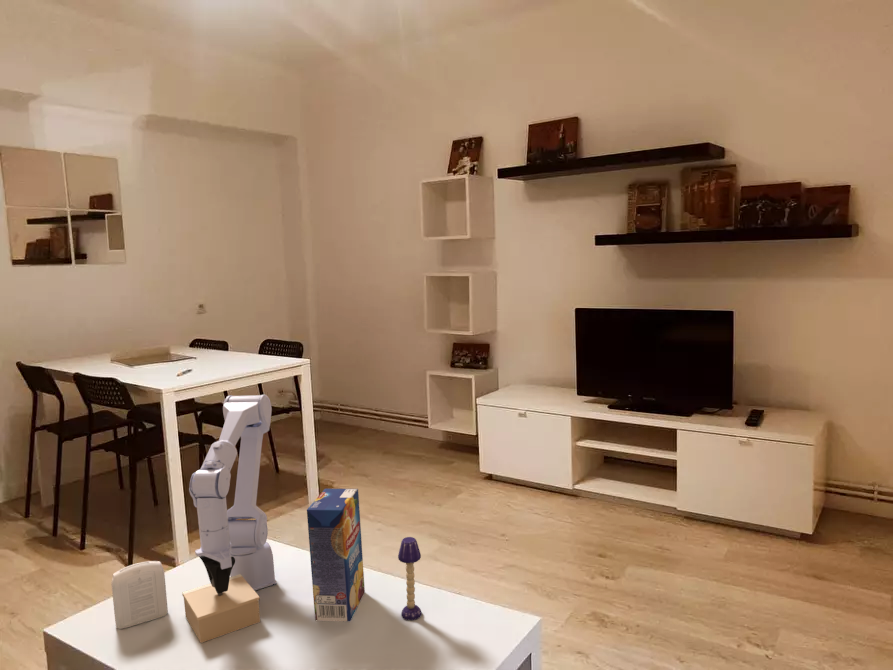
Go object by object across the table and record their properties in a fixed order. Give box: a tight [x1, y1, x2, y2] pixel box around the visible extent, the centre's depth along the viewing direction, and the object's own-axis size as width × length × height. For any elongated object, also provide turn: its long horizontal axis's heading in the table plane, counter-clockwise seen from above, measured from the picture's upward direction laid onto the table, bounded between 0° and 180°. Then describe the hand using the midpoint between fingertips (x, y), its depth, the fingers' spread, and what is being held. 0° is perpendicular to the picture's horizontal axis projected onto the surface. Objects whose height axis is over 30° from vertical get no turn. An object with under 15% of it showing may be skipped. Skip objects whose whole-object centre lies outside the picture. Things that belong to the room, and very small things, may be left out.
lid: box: [181, 574, 260, 620], centre depth 140 cm, size 12×12×5 cm
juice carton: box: [306, 488, 366, 623], centre depth 143 cm, size 12×8×24 cm, turn 172°
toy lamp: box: [397, 536, 422, 621], centre depth 138 cm, size 5×5×17 cm
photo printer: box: [111, 560, 169, 630], centre depth 142 cm, size 10×4×12 cm, turn 123°
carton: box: [183, 598, 261, 644], centre depth 141 cm, size 12×12×5 cm
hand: (219, 588), depth 140 cm, fingers closed on lid, 3 cm apart
